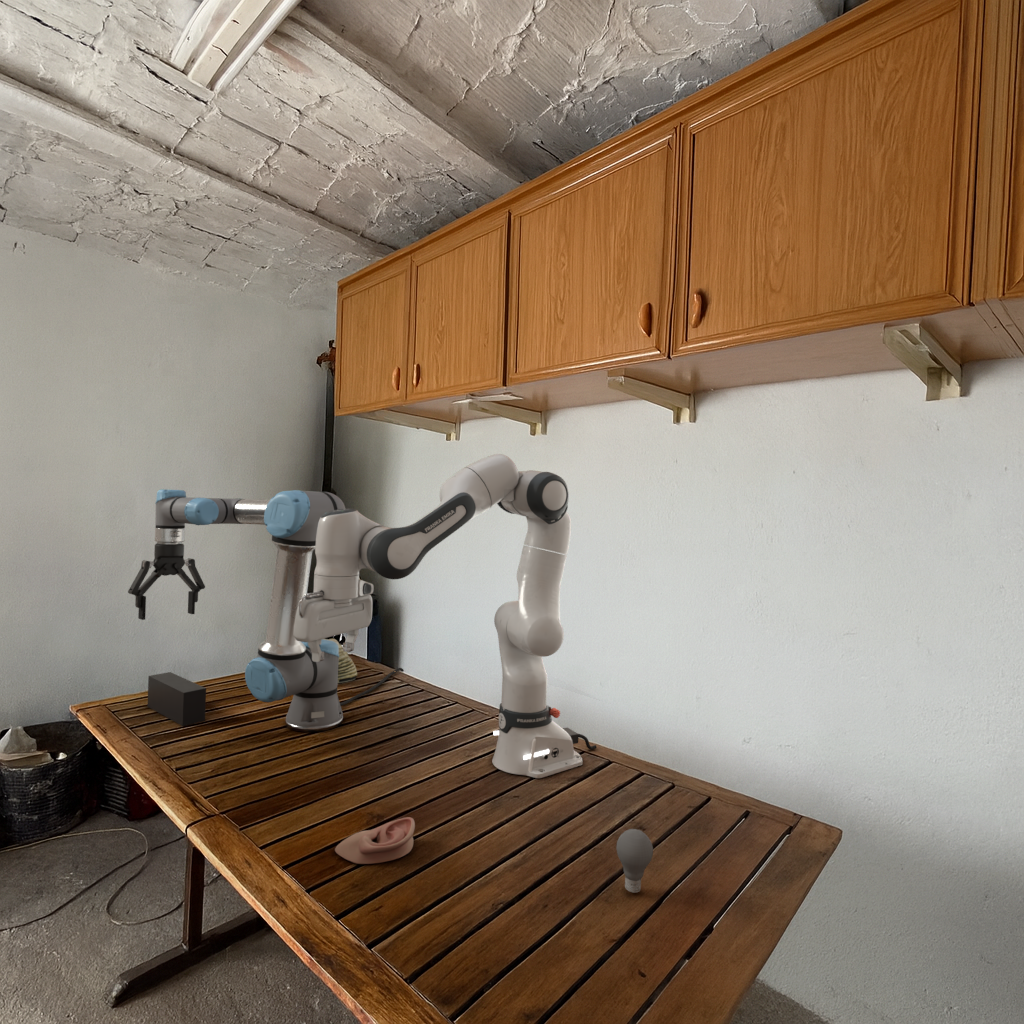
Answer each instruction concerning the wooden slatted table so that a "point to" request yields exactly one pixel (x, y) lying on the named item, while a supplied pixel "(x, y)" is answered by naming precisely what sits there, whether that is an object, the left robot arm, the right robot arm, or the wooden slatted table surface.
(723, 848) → the wooden slatted table surface
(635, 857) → the light bulb
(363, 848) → the anatomical model
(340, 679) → the fossil
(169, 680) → the box
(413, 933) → the wooden slatted table surface
